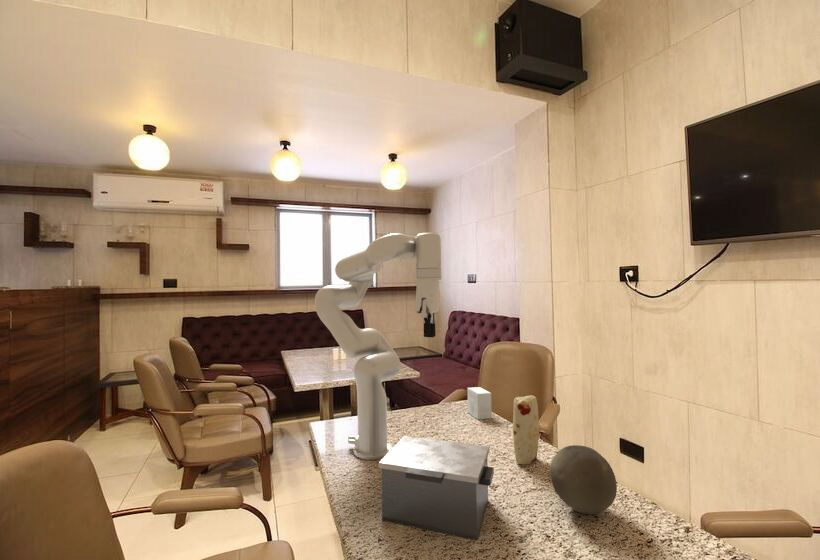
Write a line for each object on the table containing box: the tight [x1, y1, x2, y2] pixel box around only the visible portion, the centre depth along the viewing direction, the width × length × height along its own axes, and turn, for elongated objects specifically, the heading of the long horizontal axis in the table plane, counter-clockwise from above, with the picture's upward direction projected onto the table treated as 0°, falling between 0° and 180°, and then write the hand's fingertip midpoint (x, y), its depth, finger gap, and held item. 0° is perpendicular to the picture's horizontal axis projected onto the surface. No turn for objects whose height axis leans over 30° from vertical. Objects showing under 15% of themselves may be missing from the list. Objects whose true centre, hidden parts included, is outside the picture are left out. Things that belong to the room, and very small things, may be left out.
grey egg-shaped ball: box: [549, 444, 618, 515], centre depth 90 cm, size 14×14×15 cm
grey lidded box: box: [380, 459, 495, 541], centre depth 92 cm, size 26×16×12 cm, turn 70°
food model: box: [512, 394, 540, 465], centre depth 117 cm, size 10×7×20 cm
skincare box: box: [466, 386, 492, 420], centre depth 160 cm, size 10×6×10 cm, turn 16°
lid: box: [378, 435, 490, 484], centre depth 91 cm, size 23×19×1 cm
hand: (429, 336), depth 113 cm, fingers closed
